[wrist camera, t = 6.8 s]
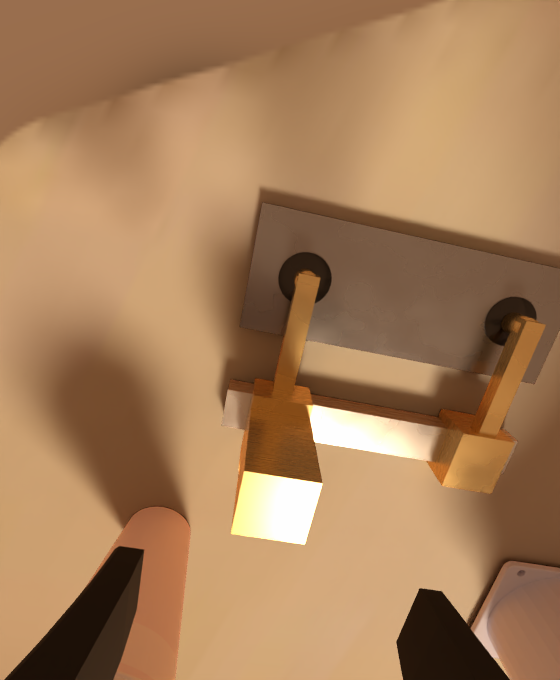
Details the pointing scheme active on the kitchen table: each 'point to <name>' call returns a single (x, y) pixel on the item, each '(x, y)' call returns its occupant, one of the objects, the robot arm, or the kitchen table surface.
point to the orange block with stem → (281, 439)
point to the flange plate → (397, 292)
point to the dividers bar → (426, 420)
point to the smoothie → (155, 593)
